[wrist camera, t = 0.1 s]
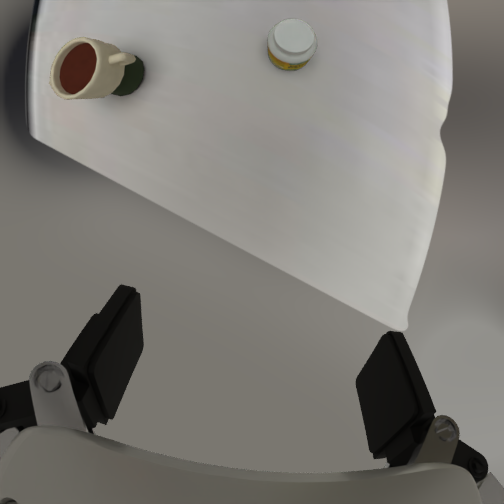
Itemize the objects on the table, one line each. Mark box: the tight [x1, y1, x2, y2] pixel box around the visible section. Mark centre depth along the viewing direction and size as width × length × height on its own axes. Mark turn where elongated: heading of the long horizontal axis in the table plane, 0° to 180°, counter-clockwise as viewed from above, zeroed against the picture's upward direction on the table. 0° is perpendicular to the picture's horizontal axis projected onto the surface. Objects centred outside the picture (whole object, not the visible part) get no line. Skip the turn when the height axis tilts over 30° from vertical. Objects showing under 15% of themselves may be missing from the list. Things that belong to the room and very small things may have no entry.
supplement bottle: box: [267, 19, 317, 71], centre depth 26 cm, size 5×5×10 cm
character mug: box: [49, 37, 144, 100], centre depth 27 cm, size 11×7×13 cm, turn 93°
